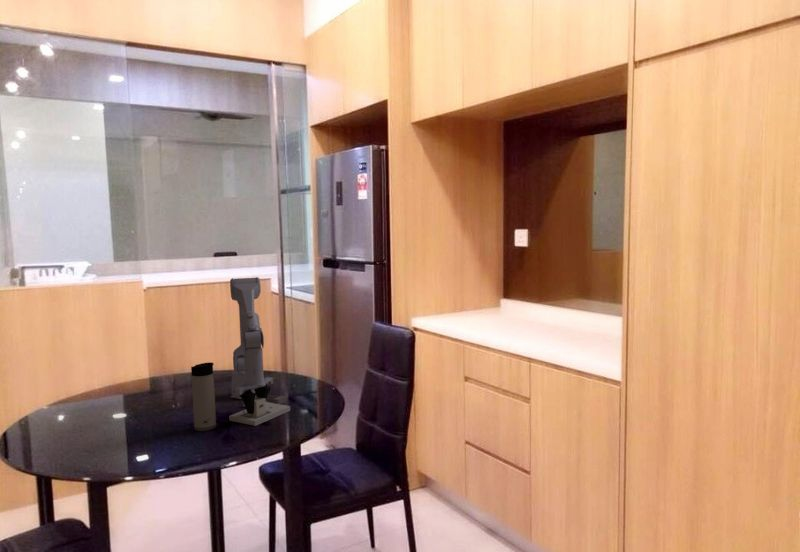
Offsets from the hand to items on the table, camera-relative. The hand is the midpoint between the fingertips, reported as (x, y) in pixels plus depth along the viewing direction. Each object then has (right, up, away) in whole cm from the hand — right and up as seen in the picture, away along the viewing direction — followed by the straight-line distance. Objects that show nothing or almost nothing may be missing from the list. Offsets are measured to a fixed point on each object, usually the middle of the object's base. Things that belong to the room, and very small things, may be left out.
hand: (255, 411), depth 176 cm
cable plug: (+2, -2, +14) cm, 15 cm away
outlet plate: (+1, -2, +3) cm, 4 cm away
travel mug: (-13, -4, -7) cm, 15 cm away
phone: (-2, -1, +16) cm, 17 cm away
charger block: (0, -2, 0) cm, 2 cm away
